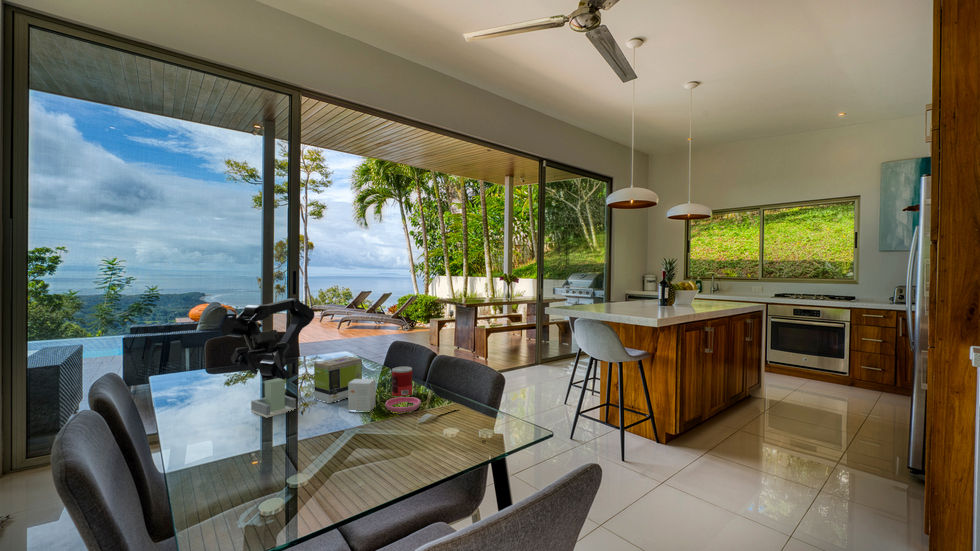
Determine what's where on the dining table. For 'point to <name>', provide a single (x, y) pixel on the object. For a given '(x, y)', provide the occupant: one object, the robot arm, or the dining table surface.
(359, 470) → the dining table surface
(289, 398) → the keeper bay
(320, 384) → the tea box
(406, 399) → the pink shallow round dish
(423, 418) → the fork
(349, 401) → the small box
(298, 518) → the dining table surface
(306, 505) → the dining table surface
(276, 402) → the green block
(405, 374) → the canned food
